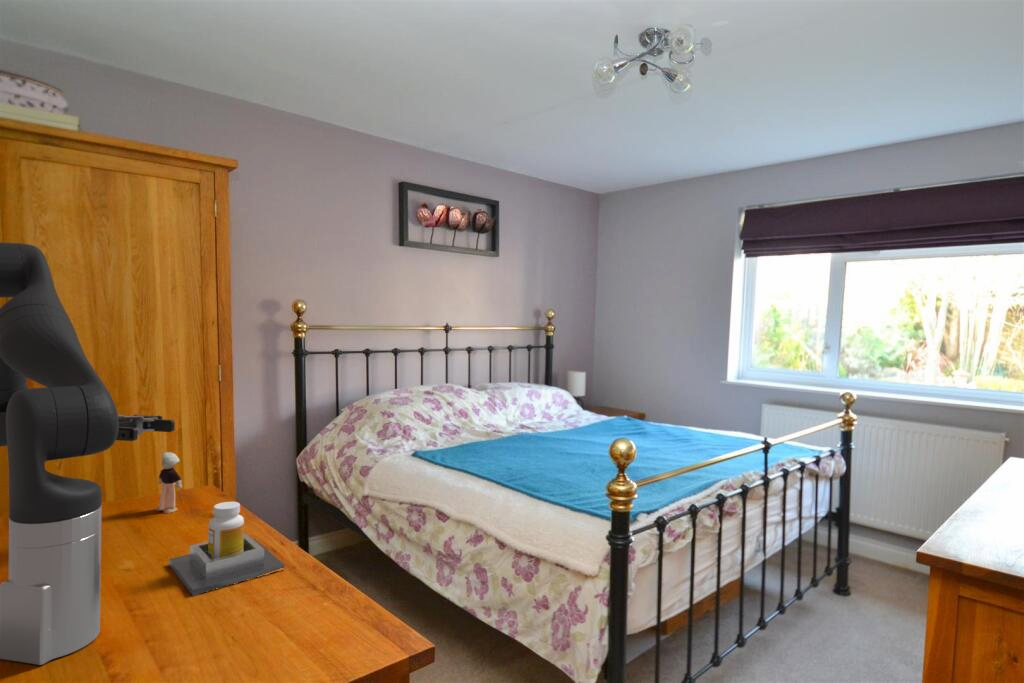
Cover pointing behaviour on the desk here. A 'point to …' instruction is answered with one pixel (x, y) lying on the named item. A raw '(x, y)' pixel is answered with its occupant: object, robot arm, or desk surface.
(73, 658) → the desk surface
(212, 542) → the supplement bottle
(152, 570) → the desk surface
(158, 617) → the desk surface
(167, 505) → the grandmother figurine
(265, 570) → the socket plate
